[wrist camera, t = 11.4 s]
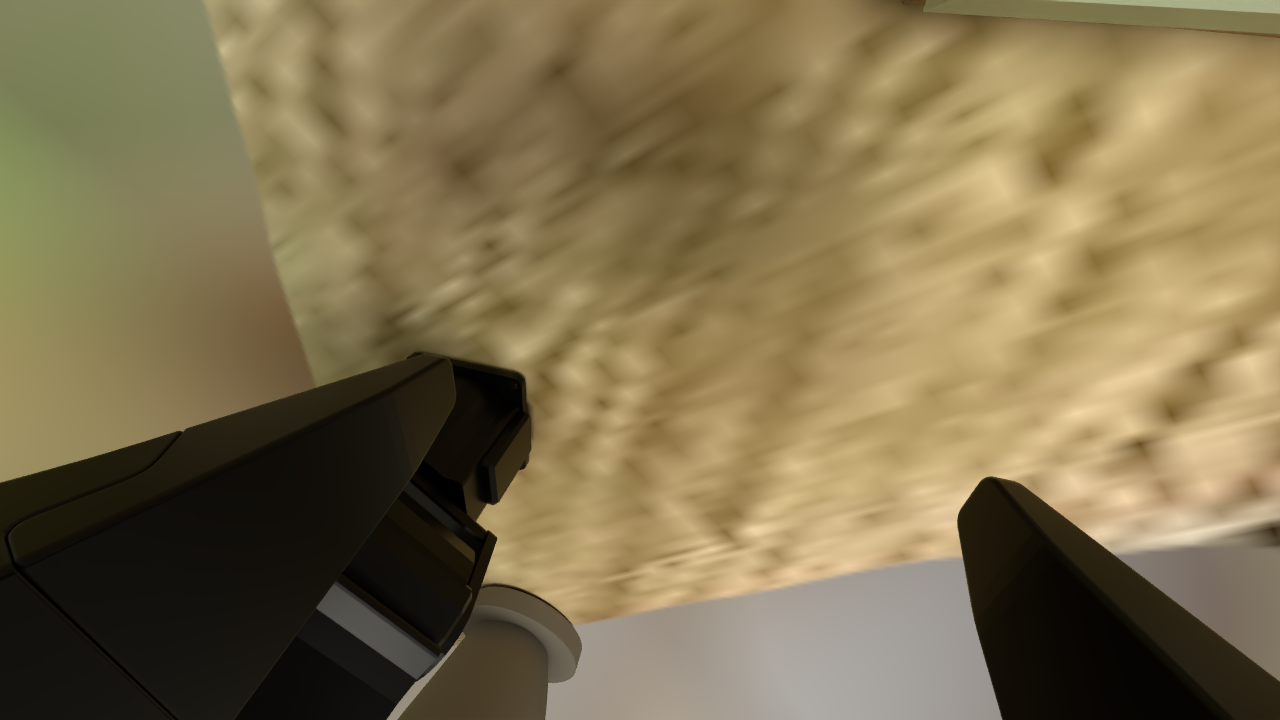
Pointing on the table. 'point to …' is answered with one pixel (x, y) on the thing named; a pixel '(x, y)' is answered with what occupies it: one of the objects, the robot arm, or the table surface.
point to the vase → (501, 662)
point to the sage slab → (1130, 12)
